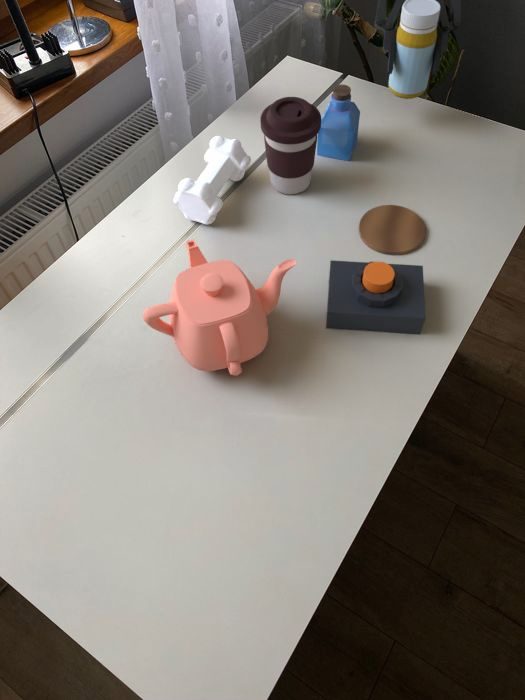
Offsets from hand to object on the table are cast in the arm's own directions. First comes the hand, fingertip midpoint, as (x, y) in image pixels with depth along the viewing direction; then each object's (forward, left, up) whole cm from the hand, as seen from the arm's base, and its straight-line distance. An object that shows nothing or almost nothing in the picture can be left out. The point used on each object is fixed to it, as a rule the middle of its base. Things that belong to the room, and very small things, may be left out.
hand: (412, 72), depth 105 cm
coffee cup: (+20, +15, -12) cm, 28 cm away
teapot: (+27, +49, -12) cm, 58 cm away
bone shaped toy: (+33, +20, -12) cm, 41 cm away
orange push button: (+5, +42, -7) cm, 43 cm away
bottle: (0, -4, -6) cm, 7 cm away
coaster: (+2, +26, -12) cm, 29 cm away
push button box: (+5, +42, -12) cm, 44 cm away
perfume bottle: (+12, +5, -12) cm, 18 cm away
